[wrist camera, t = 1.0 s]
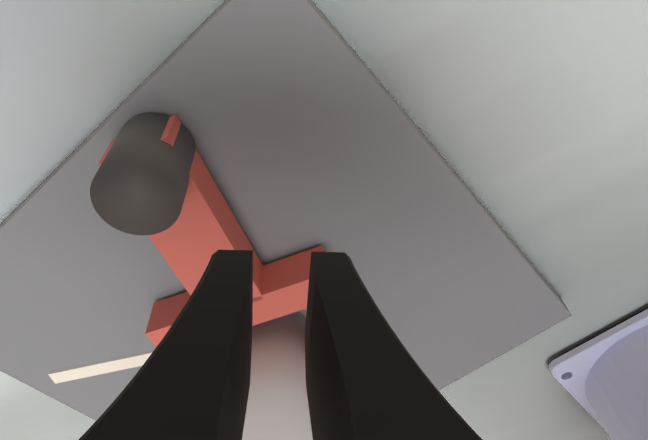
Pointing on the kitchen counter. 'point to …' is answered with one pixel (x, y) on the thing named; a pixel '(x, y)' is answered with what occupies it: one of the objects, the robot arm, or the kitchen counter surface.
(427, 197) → the station
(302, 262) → the square frame with handle
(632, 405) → the robot arm
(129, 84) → the kitchen counter surface
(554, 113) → the kitchen counter surface
